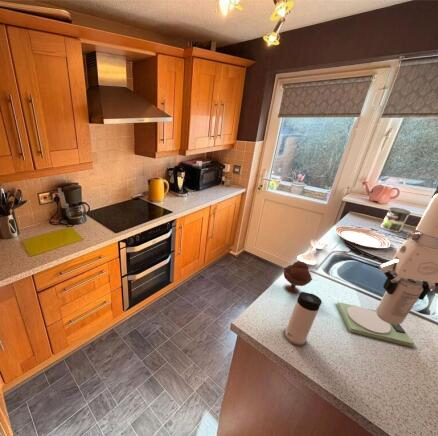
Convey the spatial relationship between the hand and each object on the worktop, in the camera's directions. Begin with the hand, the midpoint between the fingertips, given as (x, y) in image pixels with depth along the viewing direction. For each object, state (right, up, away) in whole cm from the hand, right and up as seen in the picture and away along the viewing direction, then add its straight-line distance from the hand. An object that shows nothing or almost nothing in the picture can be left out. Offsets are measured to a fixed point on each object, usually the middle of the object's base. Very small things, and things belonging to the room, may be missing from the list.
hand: (402, 293), depth 67 cm
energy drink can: (0, -9, +4) cm, 10 cm away
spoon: (+20, +1, +66) cm, 69 cm away
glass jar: (+98, +14, +96) cm, 138 cm away
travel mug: (-21, -22, +17) cm, 35 cm away
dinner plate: (+62, +8, +81) cm, 103 cm away
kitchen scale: (+12, -19, +22) cm, 32 cm away
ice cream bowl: (-7, -12, +39) cm, 42 cm away
